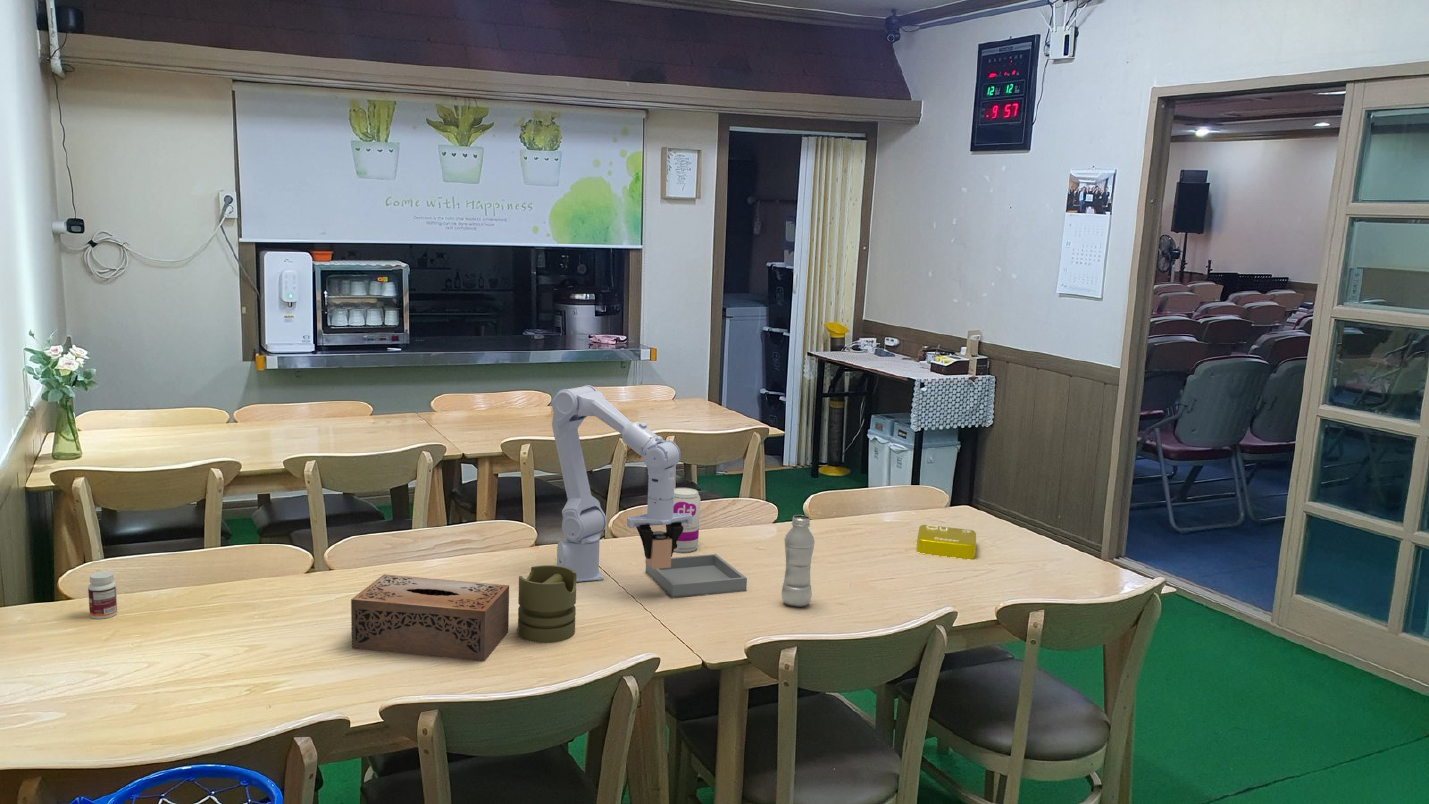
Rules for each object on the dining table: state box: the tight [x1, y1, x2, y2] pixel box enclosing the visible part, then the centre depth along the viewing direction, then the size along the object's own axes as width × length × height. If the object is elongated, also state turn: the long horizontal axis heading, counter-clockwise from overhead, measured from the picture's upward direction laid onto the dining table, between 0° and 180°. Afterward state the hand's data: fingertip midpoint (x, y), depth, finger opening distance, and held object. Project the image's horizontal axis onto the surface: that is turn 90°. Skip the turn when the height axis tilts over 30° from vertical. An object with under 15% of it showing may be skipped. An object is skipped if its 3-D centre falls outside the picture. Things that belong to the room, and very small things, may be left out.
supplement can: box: [673, 487, 701, 553], centre depth 266 cm, size 8×8×15 cm
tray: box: [645, 553, 748, 599], centre depth 243 cm, size 18×18×3 cm
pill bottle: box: [87, 570, 118, 620], centre depth 206 cm, size 5×5×8 cm
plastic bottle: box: [781, 514, 816, 608], centre depth 230 cm, size 6×7×20 cm
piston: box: [517, 564, 577, 644], centre depth 209 cm, size 11×12×11 cm
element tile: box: [915, 524, 977, 561], centre depth 278 cm, size 15×15×5 cm
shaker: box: [644, 530, 672, 569], centre depth 231 cm, size 4×4×7 cm
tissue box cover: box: [350, 573, 510, 662], centre depth 202 cm, size 26×14×10 cm, turn 83°
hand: (658, 556), depth 232 cm, fingers closed on shaker, 4 cm apart
